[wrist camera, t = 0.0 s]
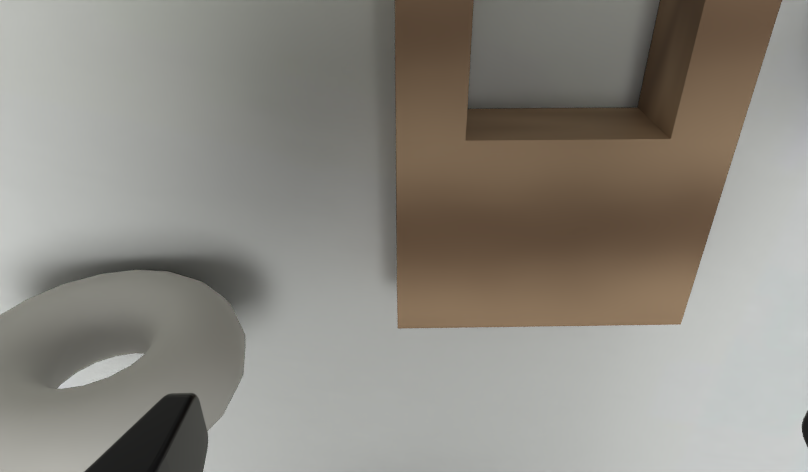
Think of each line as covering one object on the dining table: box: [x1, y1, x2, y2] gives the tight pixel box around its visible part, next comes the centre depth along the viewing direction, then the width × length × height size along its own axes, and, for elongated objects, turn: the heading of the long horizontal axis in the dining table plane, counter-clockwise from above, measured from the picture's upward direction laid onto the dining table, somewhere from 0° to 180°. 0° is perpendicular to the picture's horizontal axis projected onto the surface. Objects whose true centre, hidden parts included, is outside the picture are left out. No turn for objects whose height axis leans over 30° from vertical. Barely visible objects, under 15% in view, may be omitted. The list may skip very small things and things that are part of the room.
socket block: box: [395, 0, 782, 328], centre depth 20 cm, size 16×11×3 cm
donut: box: [0, 270, 245, 472], centre depth 21 cm, size 10×4×10 cm, turn 92°
